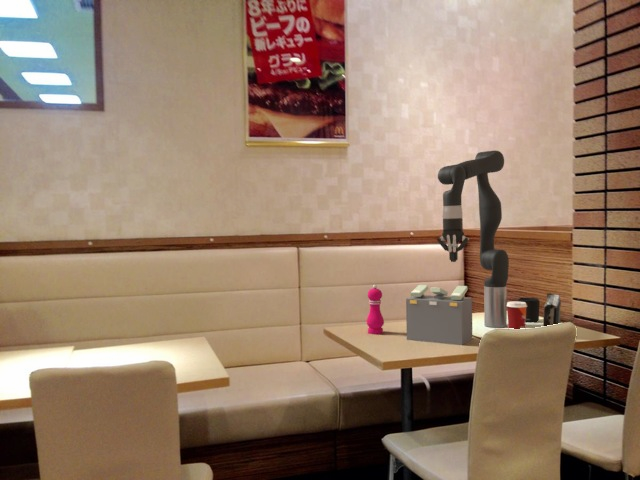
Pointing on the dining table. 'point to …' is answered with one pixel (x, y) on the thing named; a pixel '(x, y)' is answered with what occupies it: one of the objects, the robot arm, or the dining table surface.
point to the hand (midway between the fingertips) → (453, 261)
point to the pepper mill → (375, 312)
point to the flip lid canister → (516, 314)
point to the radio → (552, 310)
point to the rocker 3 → (458, 292)
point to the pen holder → (531, 309)
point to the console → (439, 319)
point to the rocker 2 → (438, 291)
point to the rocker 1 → (419, 290)
